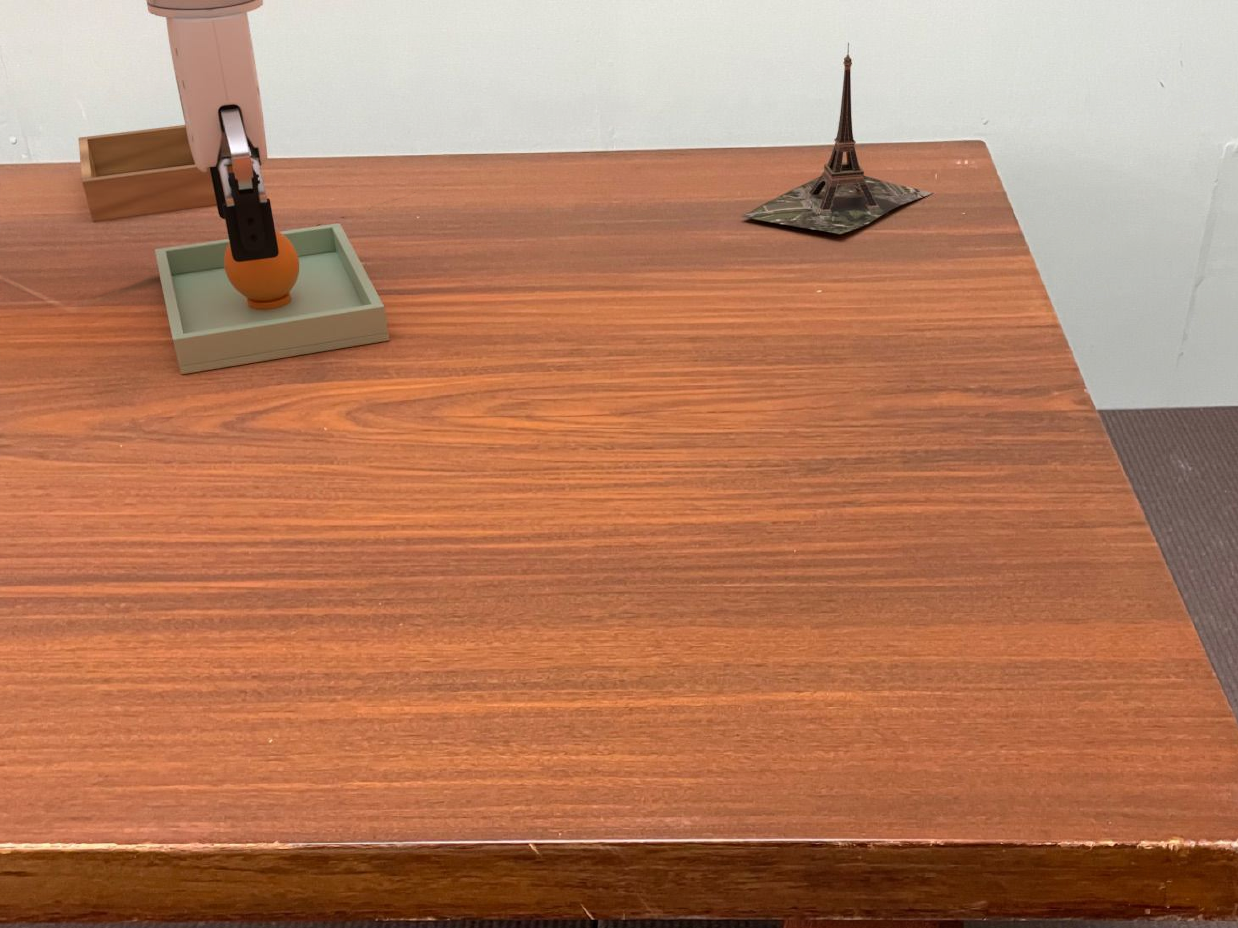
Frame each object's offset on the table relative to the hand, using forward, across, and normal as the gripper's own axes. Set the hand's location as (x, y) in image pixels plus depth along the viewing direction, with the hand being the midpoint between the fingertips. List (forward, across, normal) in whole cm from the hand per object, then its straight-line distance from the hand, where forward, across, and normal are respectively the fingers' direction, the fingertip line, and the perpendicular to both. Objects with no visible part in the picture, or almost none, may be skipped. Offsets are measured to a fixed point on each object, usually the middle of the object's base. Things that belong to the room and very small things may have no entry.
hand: (248, 236), depth 107 cm
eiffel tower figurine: (+5, -3, +49) cm, 50 cm away
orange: (+5, 0, +1) cm, 5 cm away
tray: (+6, 0, +1) cm, 6 cm away
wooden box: (+6, -33, -6) cm, 34 cm away
